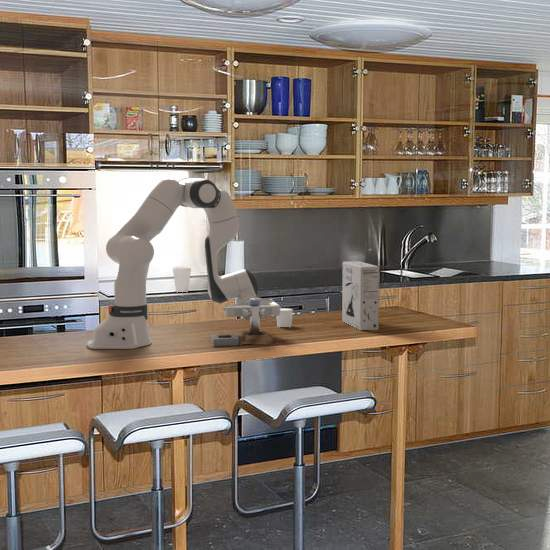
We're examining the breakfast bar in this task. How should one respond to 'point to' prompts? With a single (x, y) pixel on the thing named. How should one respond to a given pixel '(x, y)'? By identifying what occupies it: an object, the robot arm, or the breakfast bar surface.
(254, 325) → the drill rod
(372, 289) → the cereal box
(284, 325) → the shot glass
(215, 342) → the socket
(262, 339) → the rack
